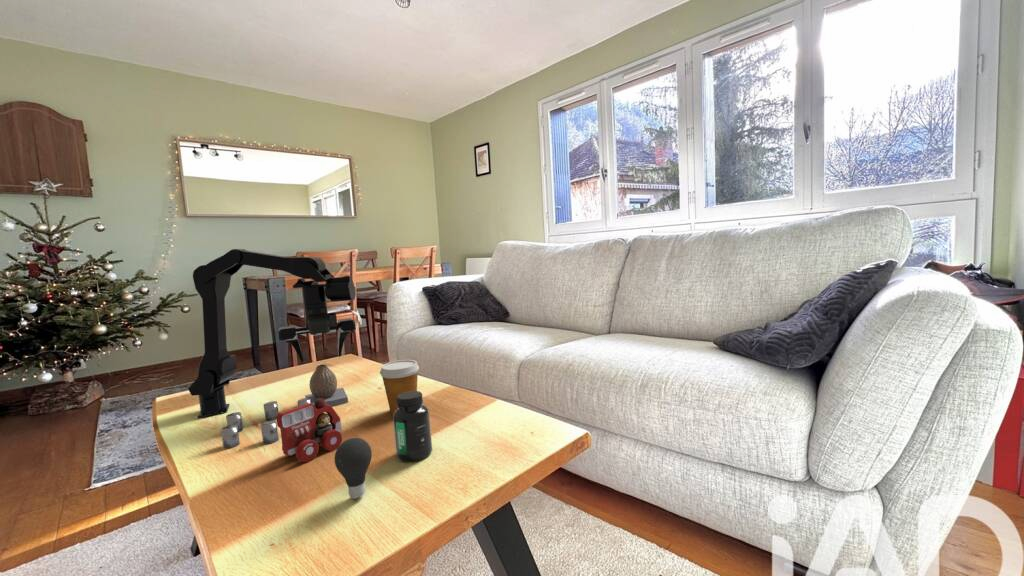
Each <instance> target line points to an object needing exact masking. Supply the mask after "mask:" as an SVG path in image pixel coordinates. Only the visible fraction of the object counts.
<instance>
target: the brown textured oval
mask: <svg viewBox="0 0 1024 576" xmlns="http://www.w3.org/2000/svg"><path fill="white" fill-rule="evenodd" d="M336 389H338V379H337V377H336V374H335V373H334V371H332V369H330V368H329V367H328V365H327V364H323V363H322V364H319V365H316V368H315V370H314V371H313V373H312V375H311V377H310V379H309V390H310V394H312V395H313V396H314V397H316V398H317V399H318V398H322V399H325V398H329V397H331V396H332V395H333V394H334V393H335V391H336Z"/></svg>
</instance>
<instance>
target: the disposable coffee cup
mask: <svg viewBox="0 0 1024 576" xmlns="http://www.w3.org/2000/svg"><path fill="white" fill-rule="evenodd" d="M419 369H420V366H419V365H418V362H417V360H413V359H400V360H399V359H398V360H393V361H390V362H386V363H385V364H382V365H381V368H380V371H379V374H380V375H381V376H380V377H382V381H383V385H384V391H385V394H386V399H387V403H388V408H389V412H390V415H392V416H393V414H394V412H395V411H396V410H397V409H398V407H397V396H398V395H399V394H401V393H404V392H409V391H418V373H419Z"/></svg>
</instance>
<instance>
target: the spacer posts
mask: <svg viewBox="0 0 1024 576" xmlns="http://www.w3.org/2000/svg"><path fill="white" fill-rule="evenodd" d="M307 403H311V398H305V397H304V398H300V399H298V400H297V407H298V406H301V405H304V404H307ZM263 411H264V418H265V421H266V422H263V423H261V424H260V429H261V430H260V431H261V438H262V444H264V445H270V444H274V443H276V442H277V441H279V439H280V438H279V431H278V426H277V420H276V417H277V415H278V414H279V413H280V412H279V406H278V401H275V400H274V401H273V400H272V401H268V402H266V403H263ZM225 419H226V420H225V421H226V426H224V427H222V428H221V429H220V432H221V440H222V447H223V449H226V450H228V449H233V448H236V447H238V446H239V445H240V444H241V440H240V432H242V431H243V430H244V425H243V417H242V412H240V411H238V412H237V411H236V412H232V413H229V414H227V415H225Z"/></svg>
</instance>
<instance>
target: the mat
mask: <svg viewBox="0 0 1024 576" xmlns="http://www.w3.org/2000/svg"><path fill="white" fill-rule="evenodd" d="M304 398H311V404H314V403H315V401H316V400H317V398H316V397H314V396H313V395H312V393H310V394H305V395H304ZM324 400H325V404H328V405H331V406H332V407H334V406H339V405H343V404H348V403H349V398H348V395H347V393H346V391H345V389H344V387H340V388H337V389H336V391H335V393H334V394H333V395H332V396H331V397H329V398H325V399H324Z"/></svg>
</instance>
